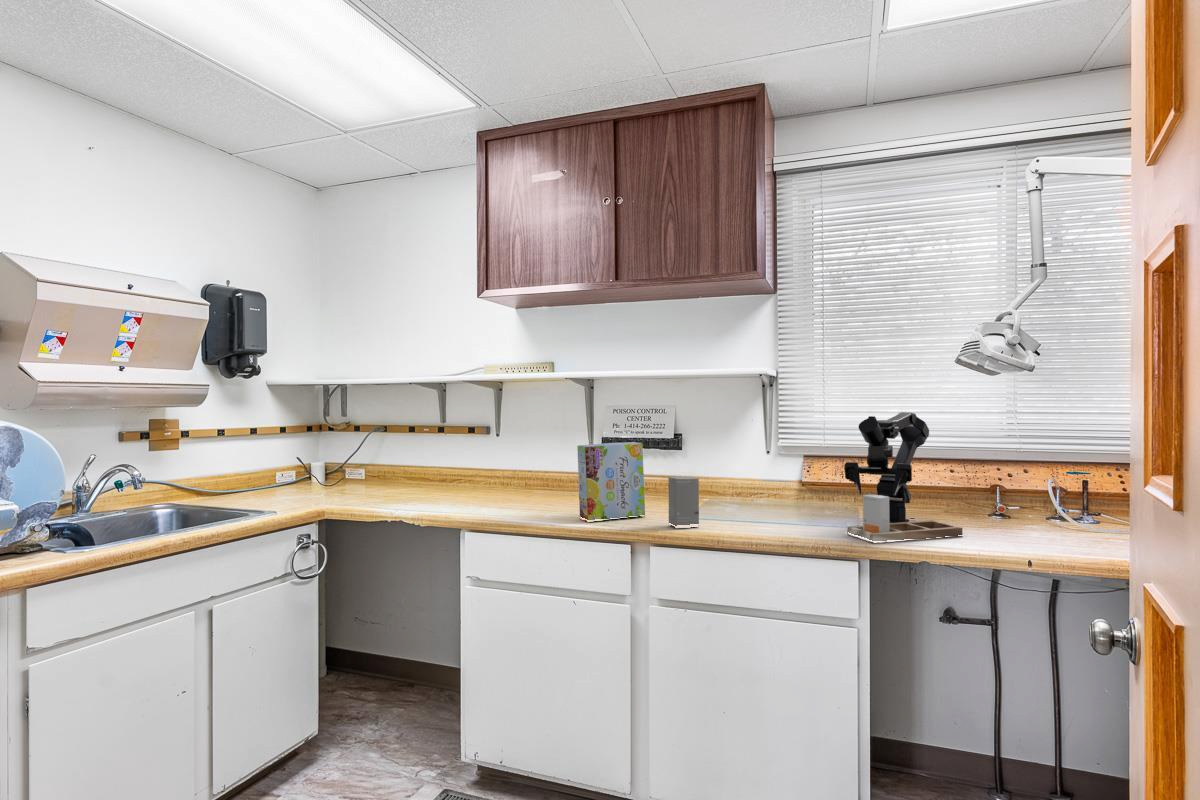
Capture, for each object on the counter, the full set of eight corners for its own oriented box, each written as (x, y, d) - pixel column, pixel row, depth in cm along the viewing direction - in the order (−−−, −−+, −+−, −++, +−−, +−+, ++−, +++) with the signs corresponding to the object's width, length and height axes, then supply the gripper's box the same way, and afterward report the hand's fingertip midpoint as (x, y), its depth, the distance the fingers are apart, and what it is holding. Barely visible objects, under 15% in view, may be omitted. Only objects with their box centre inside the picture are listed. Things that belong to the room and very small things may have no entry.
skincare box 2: (862, 536, 193) (862, 495, 192) (872, 534, 195) (872, 493, 194) (880, 540, 187) (879, 497, 187) (890, 538, 189) (890, 496, 189)
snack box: (635, 513, 236) (633, 441, 235) (646, 517, 228) (644, 442, 227) (577, 519, 227) (576, 444, 227) (587, 523, 219) (585, 445, 219)
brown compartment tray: (847, 535, 196) (847, 526, 195) (931, 528, 203) (931, 520, 203) (874, 543, 184) (873, 534, 184) (962, 536, 191) (962, 527, 191)
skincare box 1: (675, 529, 207) (675, 479, 207) (667, 525, 214) (666, 476, 214) (700, 527, 209) (700, 477, 209) (691, 523, 216) (691, 475, 216)
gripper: (844, 435, 204) (841, 476, 194) (911, 436, 196) (911, 478, 186) (847, 458, 212) (844, 498, 202) (911, 460, 203) (912, 502, 194)
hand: (876, 494), depth 196 cm, fingers open, 9 cm apart
